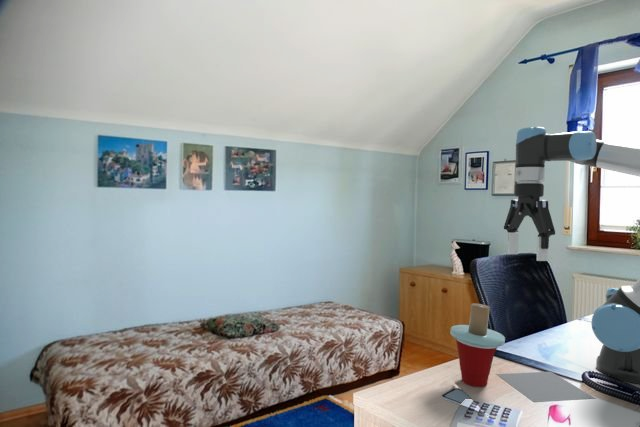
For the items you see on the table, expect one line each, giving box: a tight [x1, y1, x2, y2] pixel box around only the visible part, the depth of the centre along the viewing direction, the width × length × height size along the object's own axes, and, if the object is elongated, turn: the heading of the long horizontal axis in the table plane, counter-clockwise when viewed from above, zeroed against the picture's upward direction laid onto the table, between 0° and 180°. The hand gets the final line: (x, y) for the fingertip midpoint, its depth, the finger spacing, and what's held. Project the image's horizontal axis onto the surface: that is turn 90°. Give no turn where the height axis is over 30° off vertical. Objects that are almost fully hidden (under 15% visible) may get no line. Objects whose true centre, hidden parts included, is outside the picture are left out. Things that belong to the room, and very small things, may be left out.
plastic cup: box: [455, 338, 498, 388], centre depth 112 cm, size 11×11×12 cm
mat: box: [495, 371, 597, 403], centre depth 111 cm, size 16×16×1 cm
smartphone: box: [440, 387, 473, 406], centre depth 102 cm, size 7×1×15 cm
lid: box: [450, 303, 506, 348], centre depth 112 cm, size 13×13×8 cm
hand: (526, 257), depth 126 cm, fingers open, 13 cm apart
